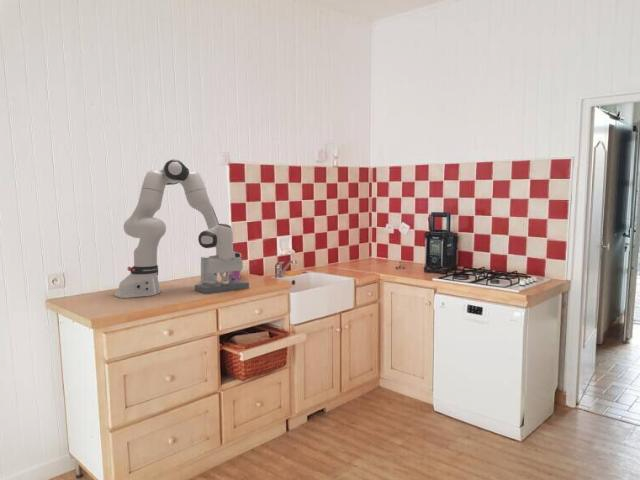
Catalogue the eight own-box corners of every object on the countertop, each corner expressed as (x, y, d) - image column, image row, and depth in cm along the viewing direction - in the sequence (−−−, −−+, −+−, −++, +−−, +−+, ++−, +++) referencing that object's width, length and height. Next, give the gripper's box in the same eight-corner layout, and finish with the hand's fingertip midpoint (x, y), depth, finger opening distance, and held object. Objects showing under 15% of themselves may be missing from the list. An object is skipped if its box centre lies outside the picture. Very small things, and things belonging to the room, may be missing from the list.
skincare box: (203, 283, 281) (203, 257, 280) (200, 281, 286) (200, 256, 285) (217, 282, 285) (217, 256, 284) (214, 280, 290) (214, 255, 289)
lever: (232, 281, 271) (227, 265, 269) (230, 280, 273) (225, 265, 270) (236, 279, 273) (230, 263, 270) (234, 278, 275) (228, 263, 272)
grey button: (209, 284, 253) (209, 281, 253) (205, 283, 257) (205, 280, 257) (217, 283, 256) (217, 280, 256) (213, 282, 260) (213, 279, 259)
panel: (205, 294, 251) (205, 288, 251) (194, 290, 260) (194, 284, 260) (248, 287, 268) (248, 282, 268) (237, 284, 277) (237, 279, 277)
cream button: (223, 284, 259) (223, 281, 259) (219, 283, 262) (219, 280, 262) (230, 284, 262) (230, 280, 261) (226, 282, 265) (226, 279, 265)
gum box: (228, 275, 311) (227, 253, 310) (240, 275, 312) (240, 253, 311) (225, 281, 287) (225, 258, 286) (239, 281, 288) (239, 258, 287)
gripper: (209, 256, 251) (210, 283, 253) (244, 253, 265) (244, 279, 266) (203, 255, 256) (204, 281, 257) (237, 252, 269) (238, 277, 271)
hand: (225, 280), depth 262 cm, fingers closed, pressing on cream button
